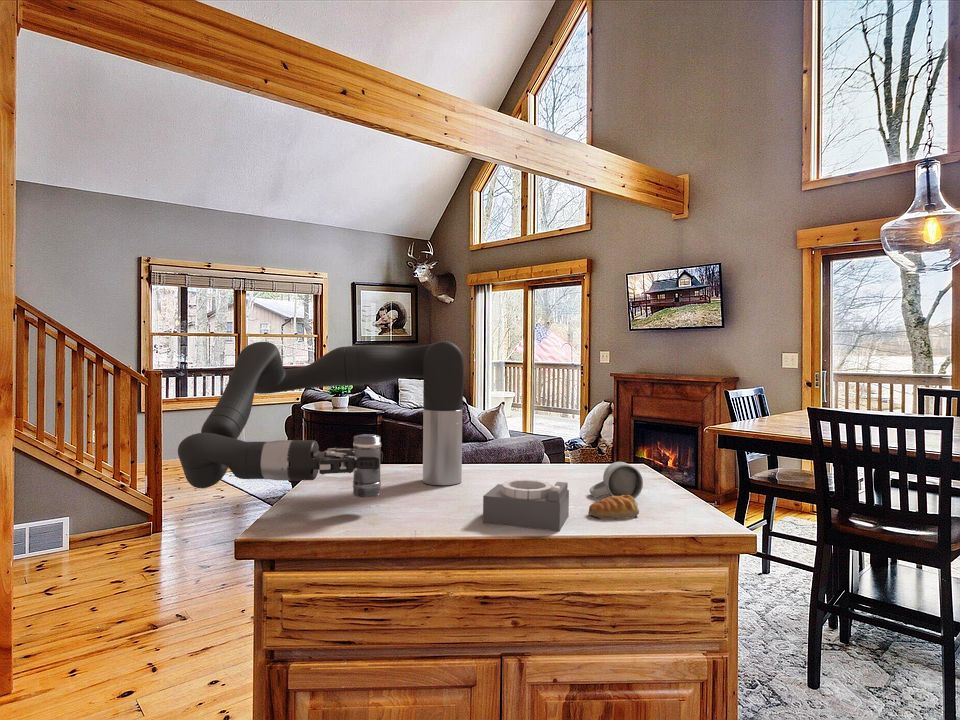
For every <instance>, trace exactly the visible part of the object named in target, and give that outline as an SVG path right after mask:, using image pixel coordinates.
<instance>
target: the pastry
mask: <svg viewBox="0 0 960 720" xmlns="http://www.w3.org/2000/svg"><path fill="white" fill-rule="evenodd" d="M639 514H640V510H639V507H638V504H637V503H636V498H635V499H634V498H633V497H632V496H630V495H621V496H611V495H610V496H606V497H605V498H603V499H601V500H597V501H595V502H594V503H592V504H590V505H589V507H588V515H591V516H594V517H596V518H599V519H601V518H614V519H613V520H619V519H618V518H622V519H627V518H626V517H633V518H636V517H635V516H637V517H638V515H639Z"/></svg>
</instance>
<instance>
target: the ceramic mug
mask: <svg viewBox="0 0 960 720" xmlns="http://www.w3.org/2000/svg"><path fill="white" fill-rule="evenodd" d="M643 488H644V480H643V476H642V474H641V472H640V471H639V469H638V468H636V467H635V466H633V465H632V464H629V463H627V462H623V461H616V462H612V463H610V464H609V465H608V466H607V467H605V470H604V472H603V479H602V481H600V482H598V483H596V484H594V485H593V486H591V487H590V488H589V491H588V492H589V493H590V496H591V497H592V496H593V497H592V498H596V497H597V498H598V497H601V496H604V495H607V494H609V495H610V496H621V495H630V496H632V497H633V498H634V499H635V500H636V498H637V497H638V496H640V495H641V492H642V490H643Z"/></svg>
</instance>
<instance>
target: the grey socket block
mask: <svg viewBox="0 0 960 720" xmlns="http://www.w3.org/2000/svg"><path fill="white" fill-rule="evenodd" d="M568 484H569V483H568V482H567V481H566V482H564V481H556V483H554V484H552V483H550V482H548V481H544V480H538V479H528V478H527V479H523V478H522V479H511V480H506V481H504V482H503V483H500V484H499V483H497V484H496V485H495V486H493V487H492V488H491V489H490V490H489V491H487V493H485V494H483V496H482V498H483V500H482V505H483V506H482V524H486V525H496V526H497V525H498V526H505V527H514V528H515V527H516V528H525V529H533V530H535V529H536V530H545V531H554V532H560V531H561V530H562V528H563V527H564V525H565V523H566V521H567V520H568V517H569V509H570V489H568Z"/></svg>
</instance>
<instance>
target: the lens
mask: <svg viewBox="0 0 960 720" xmlns="http://www.w3.org/2000/svg"><path fill="white" fill-rule="evenodd" d="M381 436H382V435H381ZM381 436H380V435H378V434H373V433H372V434H371V433H368V434H367V433H365V434H364V433H363V434H358V435H354V436H353V443H352V444H353V449H354V454H353V456H357V457H358V459H359V457H379V459H380V452H382V451H381V447H382V441H381V439H382V438H381ZM352 479H353V481H352V488H353V492H352V493H353V494H352V495H353V496H354V497H355V498H374V497H378V496H380V494H381V486H382V485H381V465H380V466H379V468H378V469H359V468H358V470H356V471H353V478H352Z"/></svg>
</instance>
